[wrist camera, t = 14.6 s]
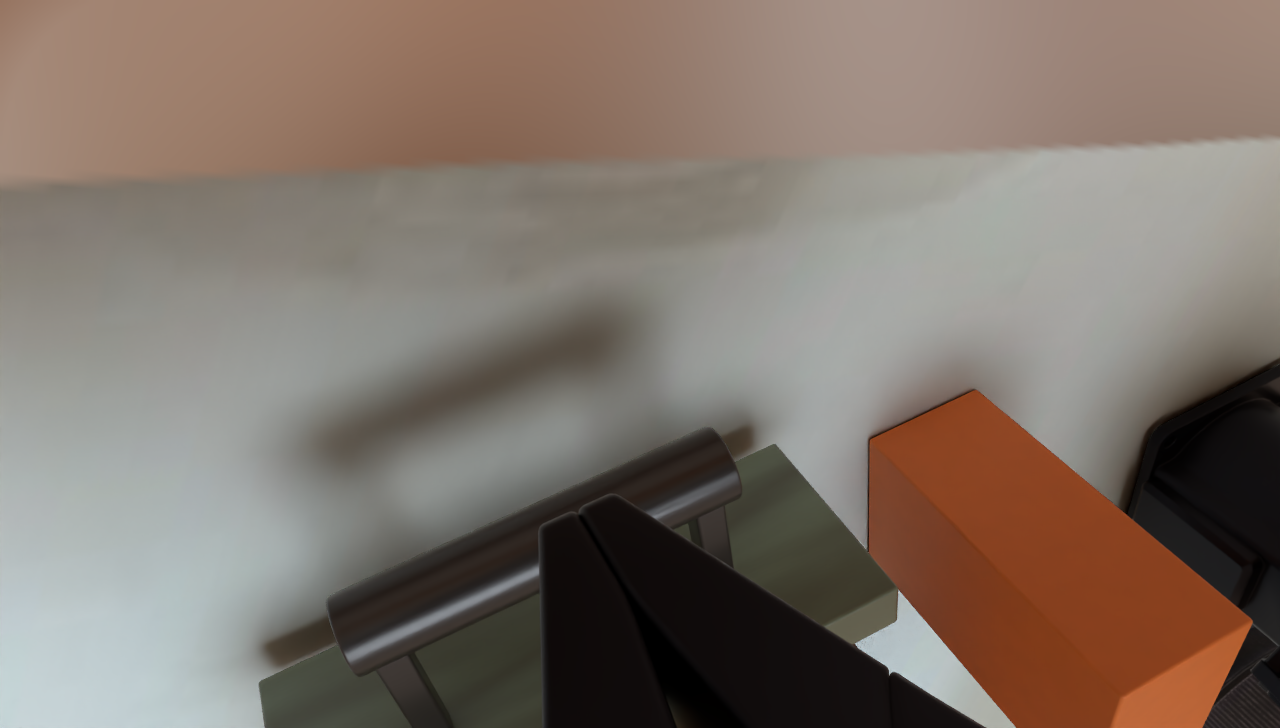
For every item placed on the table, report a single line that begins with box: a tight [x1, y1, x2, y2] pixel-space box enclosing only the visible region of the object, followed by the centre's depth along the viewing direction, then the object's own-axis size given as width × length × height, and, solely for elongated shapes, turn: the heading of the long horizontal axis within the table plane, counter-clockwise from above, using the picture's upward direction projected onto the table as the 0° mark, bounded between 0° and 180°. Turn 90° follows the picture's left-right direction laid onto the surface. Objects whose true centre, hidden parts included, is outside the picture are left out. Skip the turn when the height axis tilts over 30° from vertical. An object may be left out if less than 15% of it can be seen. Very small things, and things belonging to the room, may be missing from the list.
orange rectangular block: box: [869, 390, 1253, 728], centre depth 23 cm, size 5×4×8 cm
